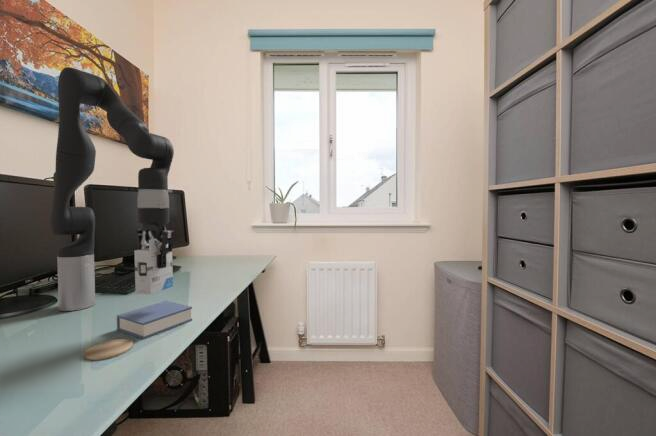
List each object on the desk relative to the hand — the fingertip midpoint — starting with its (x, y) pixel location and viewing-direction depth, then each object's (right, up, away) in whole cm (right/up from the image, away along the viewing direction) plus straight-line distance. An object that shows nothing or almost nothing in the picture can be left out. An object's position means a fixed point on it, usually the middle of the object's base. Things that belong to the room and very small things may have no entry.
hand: (154, 266), depth 82 cm
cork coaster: (-2, -17, -14) cm, 22 cm away
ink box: (0, -7, 0) cm, 7 cm away
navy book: (0, -17, +1) cm, 17 cm away
